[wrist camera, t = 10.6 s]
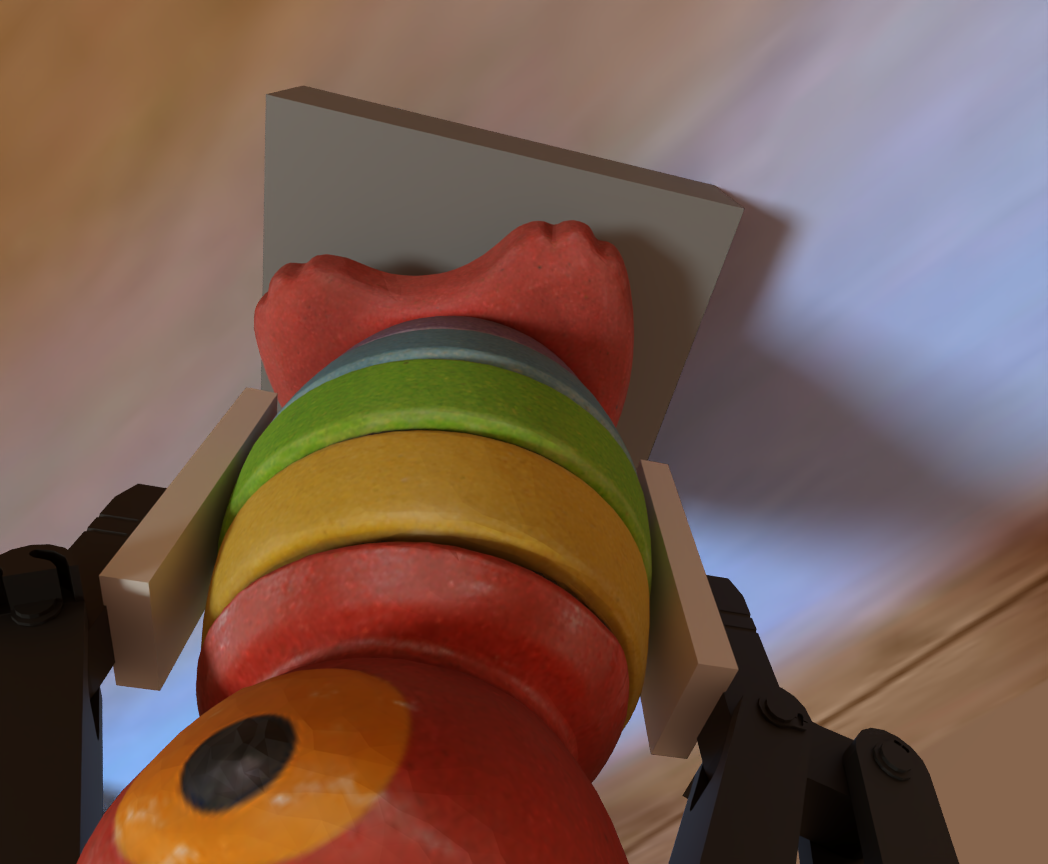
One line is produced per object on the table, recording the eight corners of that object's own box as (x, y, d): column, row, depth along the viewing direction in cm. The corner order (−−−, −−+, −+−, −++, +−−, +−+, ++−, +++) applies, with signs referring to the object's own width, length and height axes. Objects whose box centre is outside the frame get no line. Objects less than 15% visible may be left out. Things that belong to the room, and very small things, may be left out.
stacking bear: (622, 204, 18) (1269, 1253, 2) (644, 501, 23) (892, 1432, 8) (240, 264, 18) (-1088, 1335, 3) (344, 538, 24) (23, 1447, 8)
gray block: (600, 495, 30) (610, 555, 27) (290, 440, 28) (259, 495, 25) (711, 182, 23) (744, 208, 20) (306, 84, 21) (266, 94, 18)
